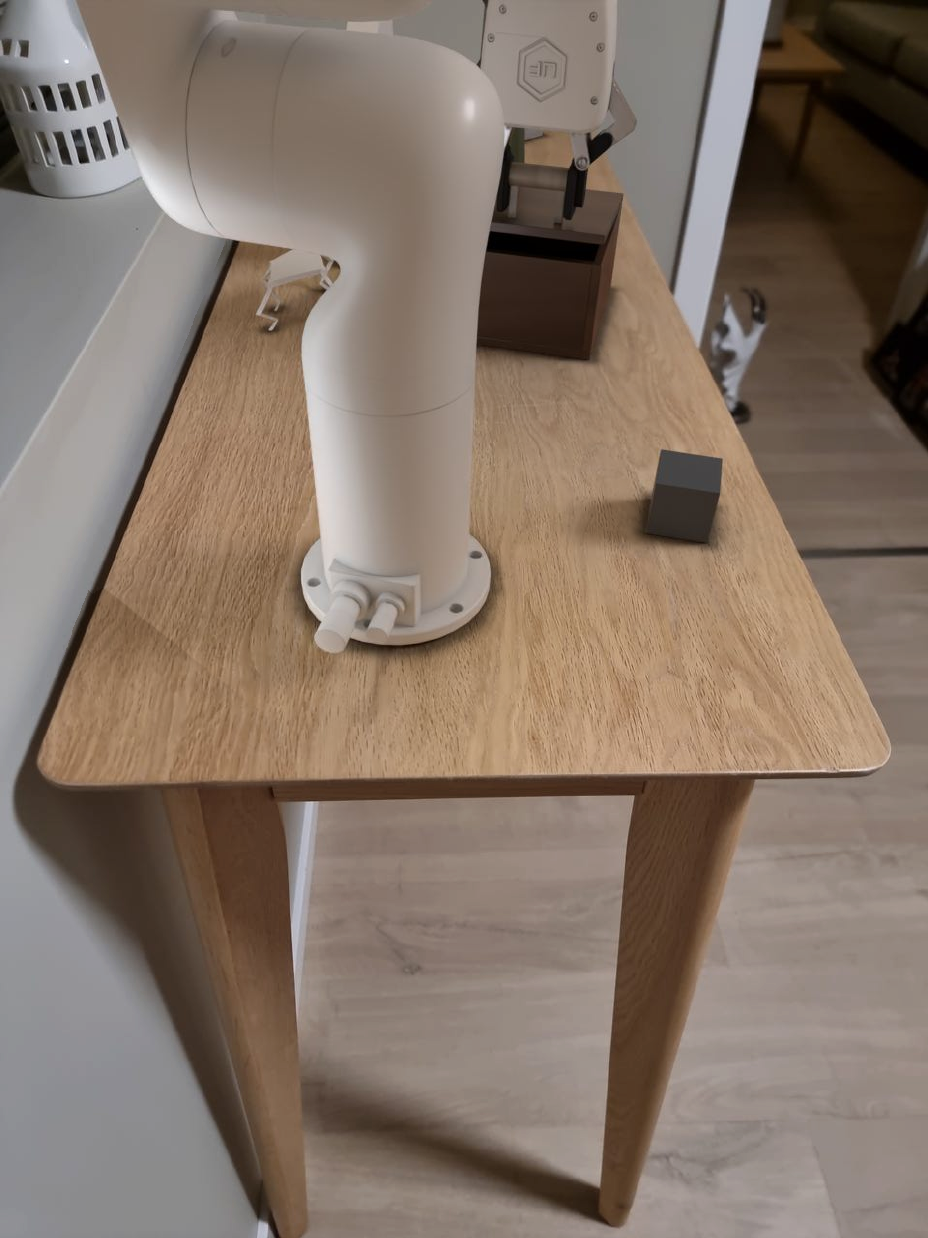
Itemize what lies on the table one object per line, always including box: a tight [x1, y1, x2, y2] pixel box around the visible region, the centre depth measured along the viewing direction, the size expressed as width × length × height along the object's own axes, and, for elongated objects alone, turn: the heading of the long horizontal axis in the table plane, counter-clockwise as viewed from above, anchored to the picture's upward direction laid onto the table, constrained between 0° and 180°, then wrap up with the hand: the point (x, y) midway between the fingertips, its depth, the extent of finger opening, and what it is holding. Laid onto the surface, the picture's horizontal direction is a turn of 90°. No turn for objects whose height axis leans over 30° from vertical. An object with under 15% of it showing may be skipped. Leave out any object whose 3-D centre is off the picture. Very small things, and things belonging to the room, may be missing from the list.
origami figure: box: [255, 249, 335, 331], centre depth 89 cm, size 12×8×5 cm
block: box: [645, 448, 724, 544], centre depth 66 cm, size 4×4×4 cm
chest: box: [476, 203, 623, 361], centre depth 88 cm, size 16×13×9 cm
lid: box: [490, 162, 625, 245], centre depth 83 cm, size 16×13×5 cm
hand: (536, 208), depth 79 cm, fingers closed on lid, 5 cm apart
